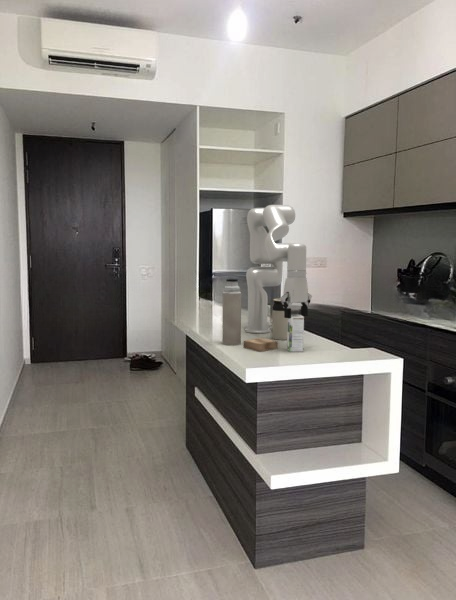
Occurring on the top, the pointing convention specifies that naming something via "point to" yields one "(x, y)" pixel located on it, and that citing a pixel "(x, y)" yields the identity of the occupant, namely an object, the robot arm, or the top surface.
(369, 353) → the top surface
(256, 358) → the top surface
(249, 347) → the base block
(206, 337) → the top surface
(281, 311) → the travel mug
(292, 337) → the syrup box
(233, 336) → the thermos bottle
